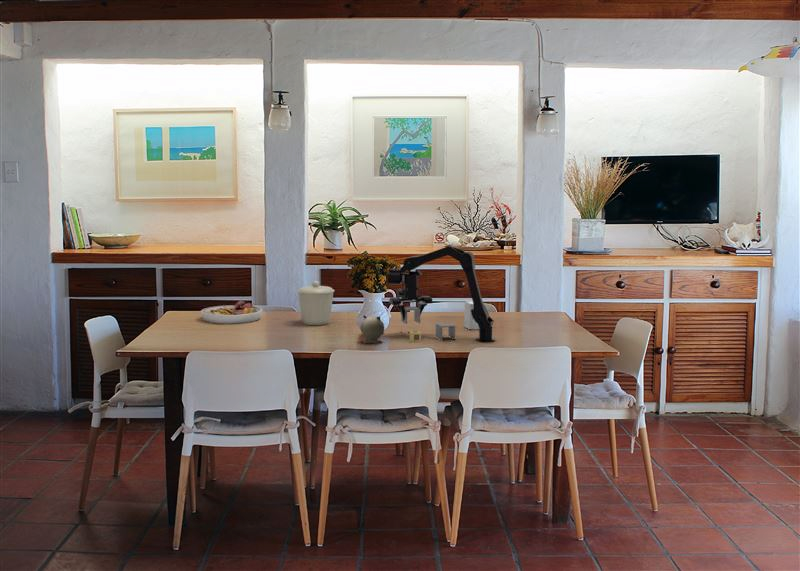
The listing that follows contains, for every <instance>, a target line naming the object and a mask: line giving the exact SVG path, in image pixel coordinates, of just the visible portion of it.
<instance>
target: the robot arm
mask: <svg viewBox="0 0 800 571" xmlns="http://www.w3.org/2000/svg"><path fill="white" fill-rule="evenodd" d="M446 256H450V257H451V258H453V259H454V260H456V261H458V262H459V264H460V266H461V269H462V270H463V272H464V273H465V276H466V277H465V278H466V280H467V284H468V288H469V292H470V297H471V300H472V301H473V305H474V308H472V309H471V313H472V316H473V318H472V319H474V320H475V322H476V323H478V326H479V329H478V330H479V331H478V337H476V340H477V341H479V340H480V341H479V342H481V343H485V341H489V342H495V341H496V339H494V338H493V325H494V322H495V321H494V319H493V318H492V317H491V316H490V313H489V311H488V309H487V307H486V305H485V302H483V297H482V294H481V291H480V287H479V282H478V279H477V274H476V270H475V269H476V261H475V255H474V254H473V253H472V252H471V251H464V250H463V249H459V248H457V247H455V246H453V245H447V246H445V247H441V248H439V249H436V250H433V251H430V252H429V253H425V254H419V255H413V256H408V257H407V258H405V259H404V260H403V265H402V267H400V269H394V268H389V269H388V274H387V279H386V280H387V284H388V285H398V286H399V285H402V283H404V286H403V289H402V288H397V291H396V294H397V295H396V296H390V298H389V300H388V302H389V304H390V305H392V306H396V307H397V308H398V310H399V312H400V316H401V318H402V319H403V320H404V317H405V315H404V307H405V304H406V303H417V308H420V316H421V315H422V313H423V312H424V309H425V307H426V306H428V304H433V298H432V297H431V296H430V295H420V297H418V290H419V287H418V276H422V275H423V273H422V271H420V270H419V269H417V268H419V267H421V266H422V265H424V264H426V263H428V262H432V261H435V260H437V259H441V258H443V257H446ZM415 269H417V270H415ZM408 271H409V272H408ZM404 303H405V304H404Z"/></svg>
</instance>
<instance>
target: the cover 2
mask: <svg viewBox="0 0 800 571" xmlns="http://www.w3.org/2000/svg"><path fill="white" fill-rule="evenodd" d="M443 328H448V335H447V336H450V337H451V338H453V339H455V340H456V325H455V324H453V323H451V322H440V323H435V338H436V337H437V338H438V339H440V340H442V341H443ZM437 338H436V339H437ZM451 338H450V339H451ZM438 339H437V340H438ZM453 339H452V340H453ZM440 340H439V341H440Z"/></svg>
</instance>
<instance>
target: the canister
mask: <svg viewBox="0 0 800 571" xmlns="http://www.w3.org/2000/svg"><path fill="white" fill-rule="evenodd" d="M296 292H297V293H298V301H299V310H300V317H301V321H302V323H303V324H304V325H308V326H324V325H328V324H329V323H330V321H331V316H332V309H333V308H332V307H333V300H334V292H335V289H333V288H332V287H331V286H328V285H320V281H318V280H313V281H312V282H311V285H307V286H306V285H305V286H302V287H300V288H299V289H297V290H296Z"/></svg>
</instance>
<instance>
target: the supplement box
mask: <svg viewBox="0 0 800 571" xmlns="http://www.w3.org/2000/svg"><path fill="white" fill-rule="evenodd" d="M472 308H474V305H473V300H472V301H471V300H469V301H465V302H464V327H463V328H465V327H466V329H467V328H468V329H467V330H469V329H471V330H479V326H478V323H476V322H475V320H474V319H472V318H473V316H472V313H471V309H472Z"/></svg>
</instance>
